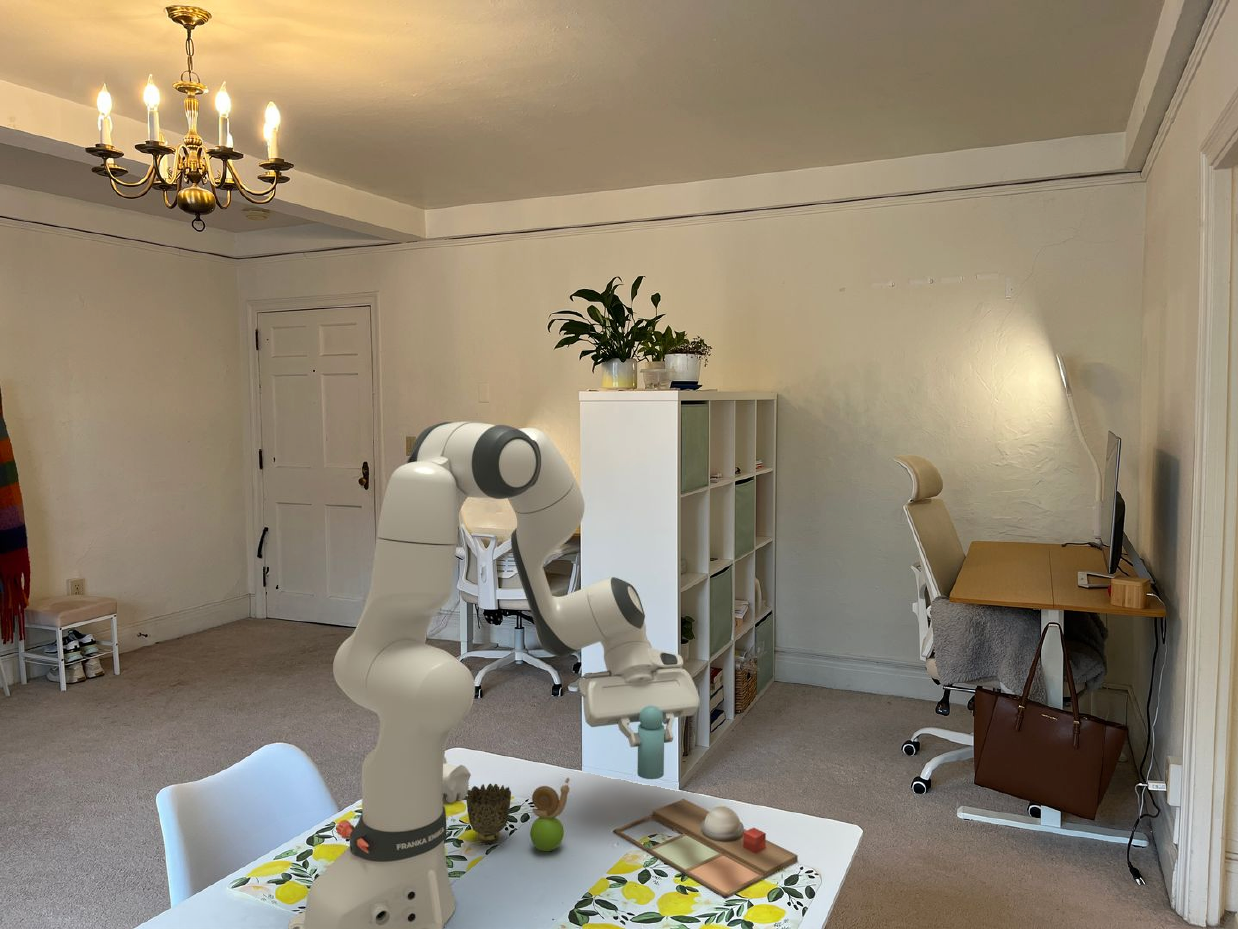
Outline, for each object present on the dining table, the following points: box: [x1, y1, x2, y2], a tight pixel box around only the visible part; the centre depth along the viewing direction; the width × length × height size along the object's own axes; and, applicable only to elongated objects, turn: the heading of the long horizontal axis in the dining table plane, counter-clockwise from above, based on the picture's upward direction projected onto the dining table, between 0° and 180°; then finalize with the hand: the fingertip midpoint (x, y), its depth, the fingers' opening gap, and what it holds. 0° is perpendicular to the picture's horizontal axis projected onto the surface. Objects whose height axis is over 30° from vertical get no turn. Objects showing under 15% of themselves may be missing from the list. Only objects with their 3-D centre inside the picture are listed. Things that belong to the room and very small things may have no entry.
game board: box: [612, 798, 799, 899], centre depth 141 cm, size 16×26×6 cm, turn 40°
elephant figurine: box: [443, 756, 472, 804], centre depth 158 cm, size 8×10×7 cm
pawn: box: [636, 706, 665, 780], centre depth 144 cm, size 4×4×12 cm
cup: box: [465, 783, 512, 844], centre depth 143 cm, size 8×7×8 cm
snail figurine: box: [529, 777, 570, 852], centre depth 140 cm, size 5×6×12 cm
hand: (652, 743), depth 144 cm, fingers closed on pawn, 4 cm apart
